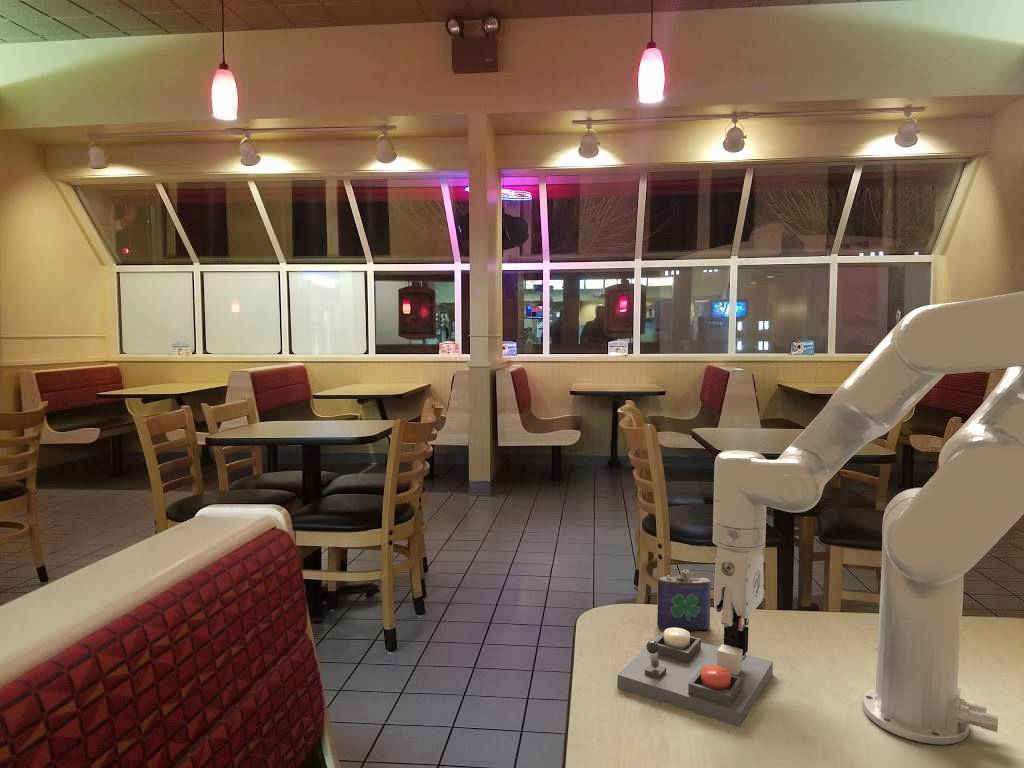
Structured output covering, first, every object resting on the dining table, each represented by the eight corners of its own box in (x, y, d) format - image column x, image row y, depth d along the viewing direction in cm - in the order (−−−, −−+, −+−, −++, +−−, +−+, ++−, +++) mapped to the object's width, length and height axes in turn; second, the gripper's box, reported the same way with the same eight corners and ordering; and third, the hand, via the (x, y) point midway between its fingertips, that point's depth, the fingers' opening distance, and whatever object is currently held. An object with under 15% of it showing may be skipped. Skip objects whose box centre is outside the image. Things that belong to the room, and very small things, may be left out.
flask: (708, 625, 124) (709, 567, 122) (712, 633, 121) (713, 573, 120) (655, 624, 124) (656, 566, 123) (658, 632, 121) (659, 572, 120)
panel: (772, 673, 107) (773, 651, 106) (739, 727, 93) (740, 701, 92) (661, 643, 117) (662, 622, 116) (617, 687, 103) (617, 664, 102)
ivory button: (693, 641, 110) (693, 631, 110) (684, 651, 107) (684, 641, 107) (669, 634, 113) (669, 625, 112) (659, 644, 109) (660, 634, 109)
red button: (734, 680, 98) (734, 669, 98) (725, 693, 95) (725, 682, 95) (706, 672, 100) (706, 662, 100) (696, 684, 97) (697, 673, 97)
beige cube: (741, 668, 103) (742, 649, 103) (737, 675, 101) (737, 655, 101) (721, 663, 105) (722, 644, 105) (716, 669, 103) (717, 650, 103)
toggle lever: (663, 664, 103) (659, 639, 101) (659, 672, 102) (655, 648, 100) (652, 660, 104) (648, 636, 102) (647, 669, 103) (643, 645, 101)
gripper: (749, 552, 95) (746, 679, 97) (777, 525, 108) (774, 639, 109) (696, 542, 100) (694, 664, 101) (729, 518, 112) (726, 627, 113)
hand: (735, 651), depth 105 cm, fingers closed
